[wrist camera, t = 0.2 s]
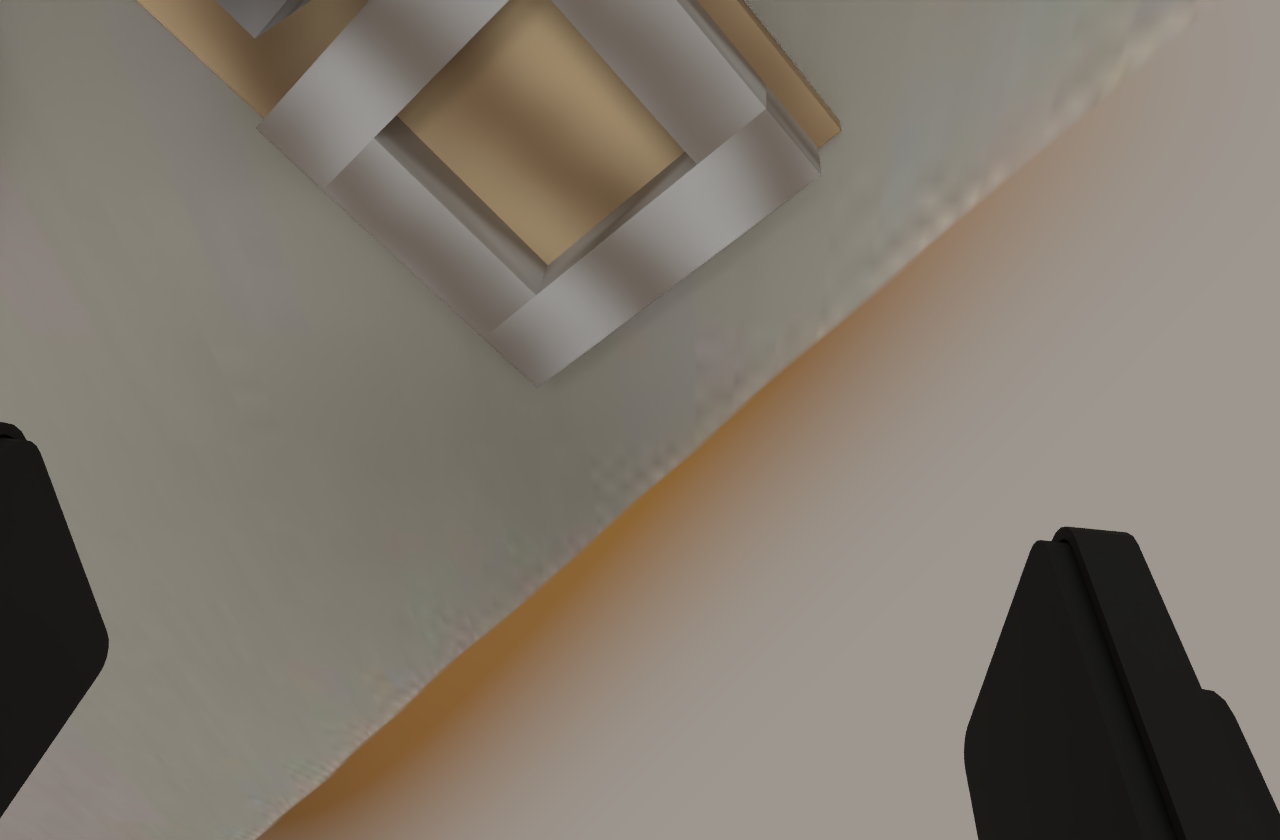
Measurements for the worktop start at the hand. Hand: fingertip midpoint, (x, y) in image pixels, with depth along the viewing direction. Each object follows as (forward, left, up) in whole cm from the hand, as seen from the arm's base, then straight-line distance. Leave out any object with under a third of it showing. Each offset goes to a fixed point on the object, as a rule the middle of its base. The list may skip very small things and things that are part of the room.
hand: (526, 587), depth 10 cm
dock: (+8, -4, -30) cm, 31 cm away
